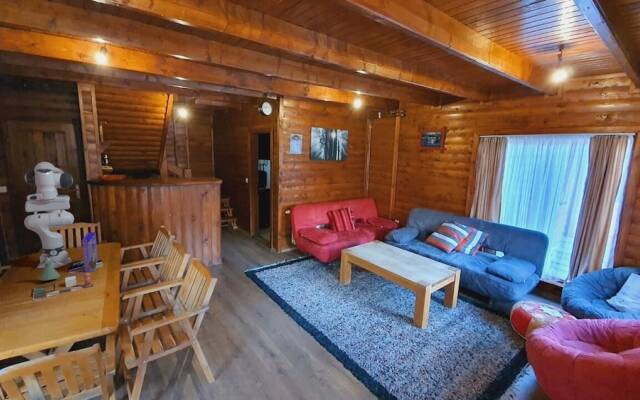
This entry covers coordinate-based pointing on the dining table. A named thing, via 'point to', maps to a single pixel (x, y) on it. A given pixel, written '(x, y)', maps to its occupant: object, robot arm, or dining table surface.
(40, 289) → the dice tray
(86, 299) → the dining table surface
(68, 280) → the die
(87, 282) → the pawn
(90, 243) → the cereal box
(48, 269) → the character figurine
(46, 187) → the robot arm
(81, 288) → the track board
